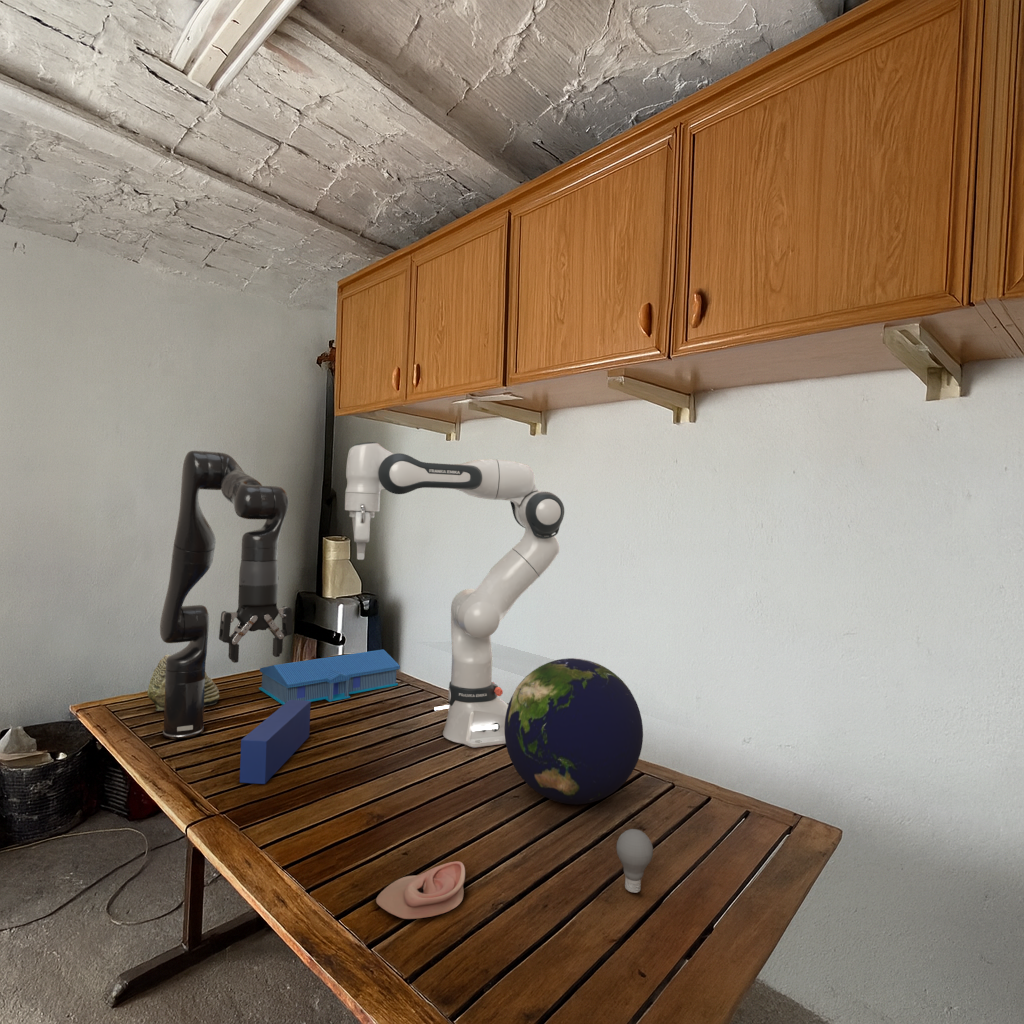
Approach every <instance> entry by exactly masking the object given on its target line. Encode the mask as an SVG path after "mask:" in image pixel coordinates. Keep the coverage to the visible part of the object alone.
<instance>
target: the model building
mask: <svg viewBox="0 0 1024 1024" xmlns="http://www.w3.org/2000/svg"><path fill="white" fill-rule="evenodd" d="M400 669H401V665H400V664H399V663H398V662H397V661H396V660H395V659H394V658H393V657H392V656H391V654H389V653H388V652H387V651H386V650H385V649H376V650H368V651H363V652H356V653H349V654H342V655H341V654H340V655H335V656H329V657H328V656H327V657H321V658H315V659H314V658H313V659H307V660H300V661H293V662H287V663H278V664H272V665H268V666H264V667H263V666H262V667H260V668H259V672H260V673H261V686H260V687H258V690H260V691H261V692H262V693H264V694H265V695H267V696H268V697H270V698H271V699H273V700H274V701H276V702H277V703H279V704H280V705H281V706H283V705H284V704H285V703H286V702H287V701H289V700H303V701H311V703H312V702H317V701H323V700H325V701H327V702H329V703H330V702H335V701H341V700H346V699H347V700H348V699H350V698H351V695H353V694H359V693H364V692H365V693H366V692H369V691H373V690H381V689H385V688H390V687H391V688H392V687H395V686H399V683H398V682H397V670H400Z"/></svg>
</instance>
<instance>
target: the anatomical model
mask: <svg viewBox="0 0 1024 1024" xmlns="http://www.w3.org/2000/svg"><path fill="white" fill-rule="evenodd" d="M465 881H466V868H465V864H464V863H463V862H461V861H460V860H459V861H456V860H455V861H449V862H446V863H442V864H440V865H437V866H434V867H433V868H430V869H428V870H426V871H424V872H421V873H420V874H418V875H407V876H404V877H400V878H398V879H396V880H394V881H393V882H391V883H390V884H389V885H388V886H386V887H384V889H383V890H381V892H380V893H379V894H378V895H377V897H376V899H375V902H376V904H377V905H378V906H379V907H380V908H381V909H383V910H384V911H386V912H387V913H389V914H391V915H393V916H395V917H398V918H400V919H404V920H415V919H423V918H424V919H425V918H430V917H431V918H432V917H435V916H439V915H443V914H445V913H448V912H451V911H452V910H454V909H455V908H457V907H458V906H460V904H461V903H462V901H463V899H464V896H465V894H464V893H465V892H464V884H465Z"/></svg>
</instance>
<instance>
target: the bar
mask: <svg viewBox="0 0 1024 1024" xmlns="http://www.w3.org/2000/svg"><path fill="white" fill-rule="evenodd" d="M311 703H312V702H311V701H303V700H289V701H287V702H286V703H285V704H284V705H281V706H280V707H279V708H277V709H276V710H275V711H274V712H273V713H272V714H270V715H269V716H268V717H267V718H266V719H264V720H263V721H262V722H261V723H259V725H257V726H255V728H254V729H252V730H251V731H250V732H249V733H248V734H246V735H245V736H244V737H243V738H241V740H240V758H239V759H240V762H239V763H240V764H239V783H240V784H257V785H266V784H267V783H268V782H269V781H270V779H271V778H272V777H273V776H274V775H275V774H276V773H277V772H278V771H279V770H280V769H281V768H282V766H284V764H286V762H287V761H288V760H289V759H290V758H291V757H292V756H293V755H294V754H295V753H296V752H297V750H298V749H299V748H301V746H302V745H303V744H304V743H305V742H306V741H307V740H308V739H309V738H310V731H311V730H310V729H311V727H310V726H311V706H312V705H311Z"/></svg>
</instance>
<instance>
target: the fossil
mask: <svg viewBox="0 0 1024 1024" xmlns="http://www.w3.org/2000/svg"><path fill="white" fill-rule="evenodd" d="M171 655H172V654H165V655H164V656H163V657H162V658H161V659H160V660H159V662H158V663H157V666H156V667H155V669H154V670H153V672H152V675H151V677H150V680H149V684H148V688H147V697H148V699H149V700H150V701H152V703H153V704H154V706H155V711H158V712H159V711H162V712H163V711H164V705H165V674H166V660H167V658H168V657H169V656H171ZM220 698H221V696H220V690H219V688H218V686H217V685H216V683H215V682H214V681H213V679H212V678H211V677H209V675H208V674H207V672H206V671H205V693H204V707H207V706H213V705H215V704H217V703H218V701H219V699H220Z"/></svg>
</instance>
